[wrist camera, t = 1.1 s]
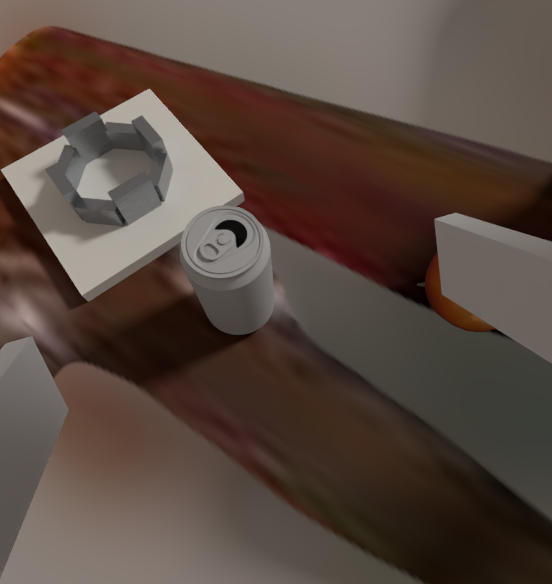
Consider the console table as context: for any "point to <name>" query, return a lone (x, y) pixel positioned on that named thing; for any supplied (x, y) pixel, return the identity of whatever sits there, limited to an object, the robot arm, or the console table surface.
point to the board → (96, 183)
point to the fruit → (449, 303)
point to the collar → (129, 195)
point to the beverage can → (229, 268)
